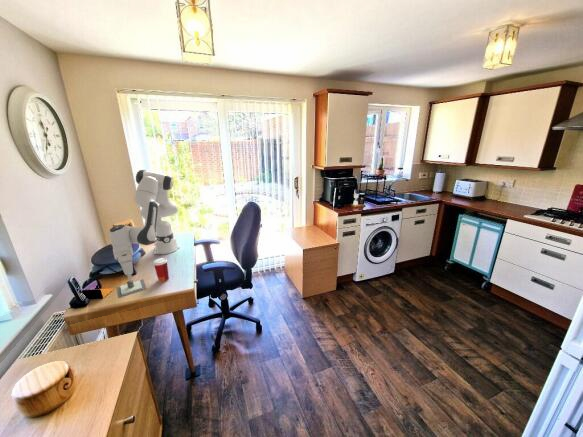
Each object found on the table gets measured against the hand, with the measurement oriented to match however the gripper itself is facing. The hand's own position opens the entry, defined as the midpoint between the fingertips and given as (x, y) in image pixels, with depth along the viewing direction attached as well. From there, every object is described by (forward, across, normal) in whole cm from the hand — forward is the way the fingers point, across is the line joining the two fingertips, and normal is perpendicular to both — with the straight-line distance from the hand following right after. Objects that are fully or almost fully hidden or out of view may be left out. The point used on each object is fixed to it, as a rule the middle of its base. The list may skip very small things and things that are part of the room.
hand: (129, 275), depth 138 cm
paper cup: (+10, +1, +17) cm, 19 cm away
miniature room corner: (+10, -6, -15) cm, 19 cm away
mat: (+9, -1, 0) cm, 9 cm away
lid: (+9, -1, 0) cm, 9 cm away
